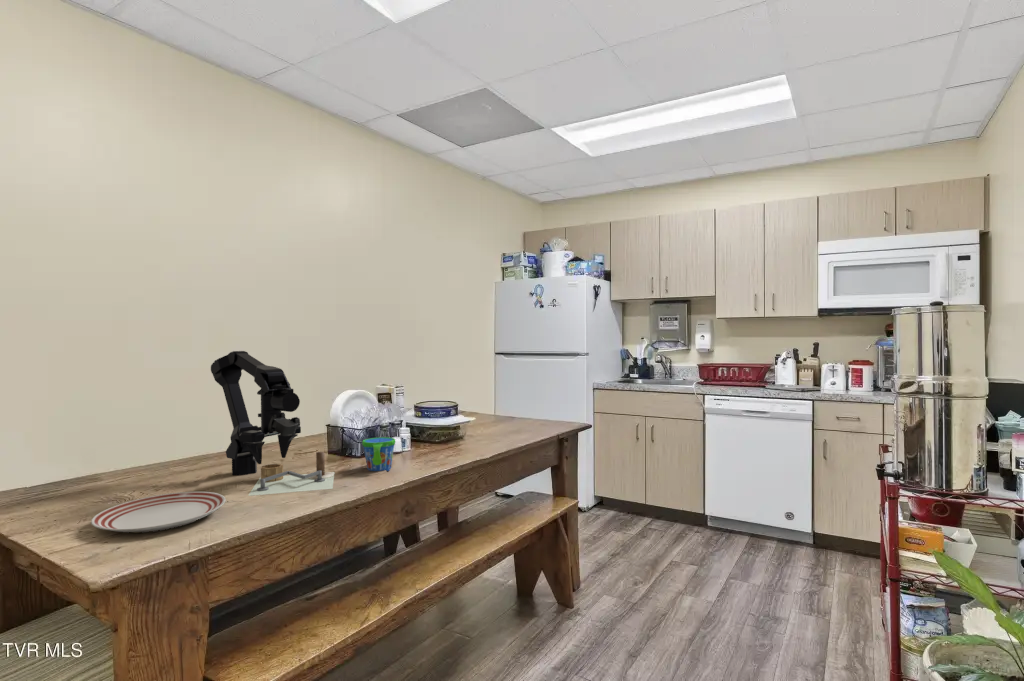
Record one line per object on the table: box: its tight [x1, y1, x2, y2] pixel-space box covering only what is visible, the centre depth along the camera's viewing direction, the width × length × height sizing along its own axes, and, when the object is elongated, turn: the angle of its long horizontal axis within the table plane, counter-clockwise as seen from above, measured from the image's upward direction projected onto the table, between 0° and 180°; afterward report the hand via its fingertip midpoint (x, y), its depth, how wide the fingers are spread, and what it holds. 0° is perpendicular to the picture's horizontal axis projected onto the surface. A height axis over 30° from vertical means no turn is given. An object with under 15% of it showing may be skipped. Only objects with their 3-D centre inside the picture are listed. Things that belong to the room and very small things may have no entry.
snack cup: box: [361, 436, 396, 472], centre depth 182 cm, size 16×10×10 cm
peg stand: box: [308, 451, 335, 480], centre depth 172 cm, size 8×8×7 cm
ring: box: [260, 463, 284, 482], centre depth 169 cm, size 6×6×4 cm
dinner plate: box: [90, 491, 226, 533], centre depth 135 cm, size 27×27×3 cm
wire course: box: [247, 470, 335, 497], centre depth 165 cm, size 22×21×4 cm
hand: (271, 460), depth 169 cm, fingers open, 9 cm apart
